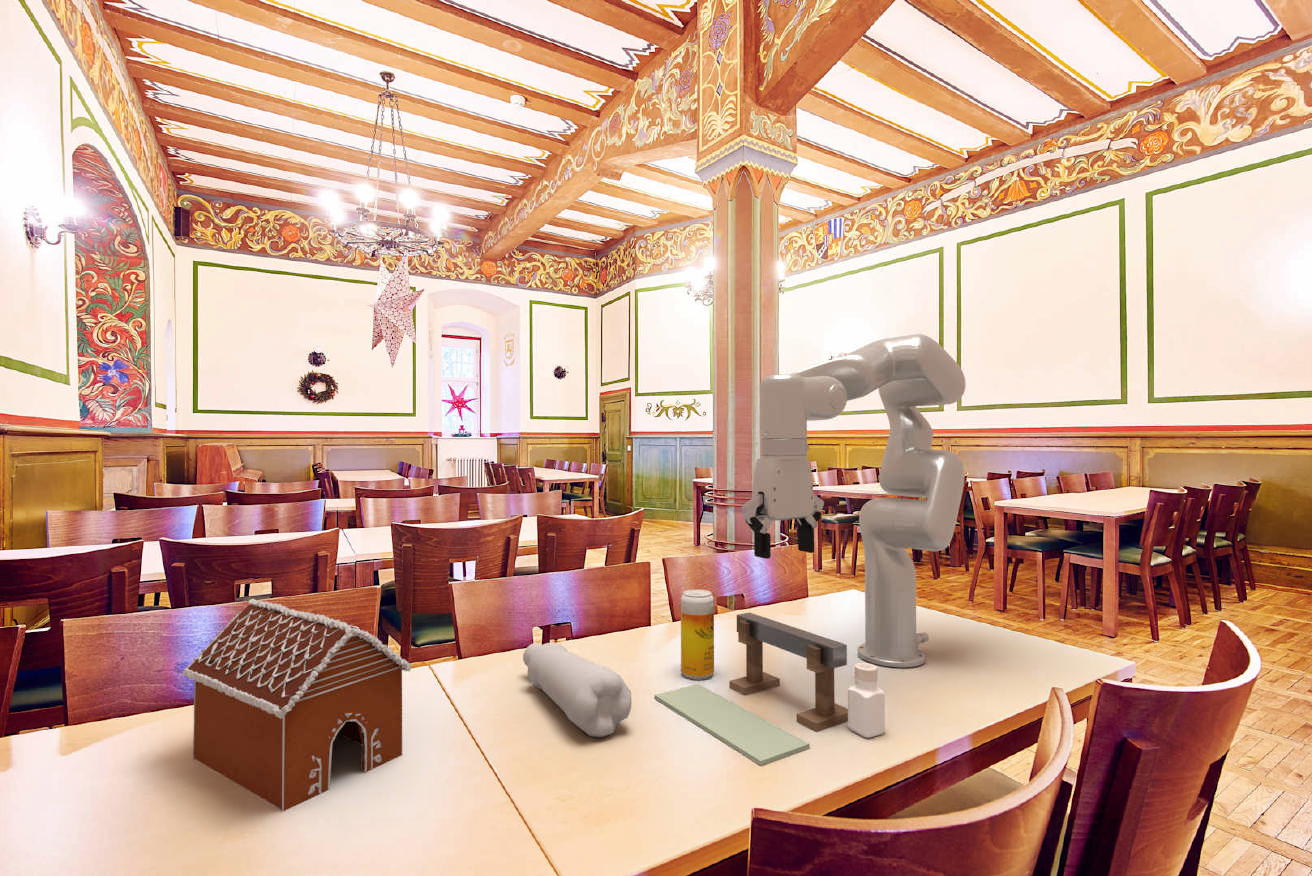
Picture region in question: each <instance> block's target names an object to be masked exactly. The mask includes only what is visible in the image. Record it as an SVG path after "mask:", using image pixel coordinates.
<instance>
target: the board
mask: <svg viewBox="0 0 1312 876" xmlns="http://www.w3.org/2000/svg"><path fill="white" fill-rule="evenodd" d="M654 699H655V701H658V702H659V703H660V704H663V705H664V706H665V707H667V708H668V709H670V710H672V711H674V712H675V713H677V714H678V715H680V716H681V717H683V718H684V719H686V720H687V721H689V722H691V723H693V724H694V725H696V726H697V727H699V728H700V729H702V730H704V731H705V732H706V733H708V734H710V735H711V736H713V737H715V738H716V739H718V740H719V741H721V742H722V743H724V744H726V745H727V746H729V747H730V748H732V749H733V750H736V751H737V752H738V753H740V754H742V755H743V756H745V757H746V758H748V759H750V760H751V761H752V762H754V763H755V764H757V765H758V766H765V765H767V764H770V763H772V762H775V761H777V760H781V759H783V758H786V757H789V756H791V755H794V754H797V753H800V752H803V751H805V750H806V751H807V750H808V749H811V744H810V742H808V741H806V740H804V739H802V738H800V737H798V736H796V735H794V734H792V733H791V732H789V731H788V730H785V729H783V728H782V727H780V726H778V725H776V724H774V723H772V722H770V721H769V720H766V719H765V718H763V717H761V716H759V715H757V714H755V713H753V712H751V711H750V710H748V709H747V708H746V709H745V708H744V707H742V706H740V705H738V704H736V703H734V702H733V701H731V700H729V699H727V698H725V697H723V696H722V695H720V694H717V693H716V692H714V691H712V690H710V689H708V688H706V687H705V686H703V685H701V684H699V683H696V684H693V685H689V686H684V687H680V688H676V689H672V690H668V691H664V692H661V693H657V694H654Z"/></svg>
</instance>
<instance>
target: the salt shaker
mask: <svg viewBox="0 0 1312 876" xmlns="http://www.w3.org/2000/svg"><path fill="white" fill-rule="evenodd" d="M885 696H886V694H885V692H884V691H883V690H882V689H881V688H880V687H878V667H877V665H876V664H874V663H870V662H858V663H855V664H854V684H852V685H851V686H850V687H848V688H847V709H848V721H847V727H848V729H849V730H850V731H852V732H854V733H856V734H858V735H859V736H861V737H863V738H870V739H871V738H872V737H877V736H879V735H883V734H884V733H885V731H886V701H885V700H886V697H885Z"/></svg>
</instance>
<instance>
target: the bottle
mask: <svg viewBox="0 0 1312 876" xmlns="http://www.w3.org/2000/svg"><path fill="white" fill-rule="evenodd" d="M522 661H523V663H524V665H525V666H526V667H527V676H528V679H529V681H530V683H531V684H532V685H533V686H535V687H536V688H537V689H541V690H542V691H543V692H544V693H545V694H546V695H547V696H548V697H549V698H550V699H551V700H552V701H553V702H554V703H555V704H556V705H557V706H558V707H559V708H560V709H561V710H562V711H563V712H564V713H565V716H566V717H567V719H569V720H570V721H571V722H572V723H573V724H574V725H576V727H578V728H580V730H582V731H583V732H585V734H586V735H587V736H590V737H594V738H599V739H600V738H603V737H608V736H610V735H612V734H613V733H614V732H615V730H616V727H617V724H618V723H620V722H622V721H624V720H626V719H627V718H629V715H630V712H631V710H632V691H631V689H630V688H629V687H628V686H627V684H626V683H625V681H624V679H623V678H622V677H621V675H620V674H619V673H617V672H616V671H614V670H612V669H611V668H608V667H607V666H604V665H601V664H597V663H595V662H592V661H591V660H588V659H586V658H584V657H583V656H580V655H578V654H576V653H574V652H571V651H568V649H567V648H566V647H565V646H564V645H563V644H561V643H558V642H552V641H551V642H547V643H544V644H542V643H539V642H534V643H531V644H530V645H528V646H527V647H526V648H525V650H524V651H523V655H522Z"/></svg>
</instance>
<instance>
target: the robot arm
mask: <svg viewBox="0 0 1312 876" xmlns="http://www.w3.org/2000/svg"><path fill="white" fill-rule="evenodd" d="M966 385H967V384H966V378H965V374H964V371H963V370H962V368H961V366H960V365H959V364H958V362H957V361H956V360H955V359H954V358H953V357H952V356H951V355H950V354H949V352H947V350H946V349H944V347H943V346H941V344H939V342H937V341H936V340H935V339H933V338H931V337H930V336H928V335H925V334H921V333H917V334H909V335H903V336H895V337H890V338H889V337H888V338H884V339H879V340H875V341H872V342H870V343H868V344H866V345H864V346H861V347H860V348H858V349H855V350H854V351H852V352H849V353H846V354H844V355H843V356H839V357H836V358H833V359H829V360H827V361H824V362H821V363H818V364H816V365H815V364H814V365H812V366H808V367H806V368H805V367H804V368H802V369H800V370H797V371H794V372H792V373H789V374H788V373H786V374H783V373H781V374H780V373H779V374H771V375H767V376H765V377H764V378H763V379H761V381H760V384H759V401H760V402H759V403H760V404H759V405H760V406H759V411H760V413H759V415H760V416H759V417H760V418H759V419H760V425H759V426H760V458H757V459H756V463H755V465H754V472H753V478H752V479H753V481H752V492H751V498H750V499H749V500H748V501H746V502H745V503H744V504H742V506H741V508H740V509H741V513H742V514H743V517H744V518H745V523H746V524H747V525H748V526H749V528H750V531H751V532H752V533H753V537H754V538H753V539H754V540H753V542H754V543H753V546H754V547H753V549H754V550H753V551H754V552H753V553H754V557H756V558H761V559H767V560H768V559H771V557H772V556H771V555H772V553H771V552H772V551H771V550H772V549H771V548H772V547H771V545H772V544H771V540H772V539H771V533H768V531H769V529H770V528H771V527H772V526H771V525H772V524H773V522H774V521H787V520H790V521H791V520H797V522H798V523H799V525H800V526H798V527H797V549H798V550H799V552H805V553H810V554H811V553H814V552H815V529H816V528H817V527H818V522H819V520H820V519H821V517H822V511H823V508H824V505H825V501H824V500H823V499H822V498H820V497H818V496H817V495H816V494H814V483H813V475H812V469H811V462H810V459H809V458H808V450H809V449H810V445H809V444H808V429H807V428H808V421H809V422H811V421H812V422H813V421H827V420H831V419H834V418H836V417H838V416H839V415H841V414H842V412H844V410H845V408H846V405H847V402H848V401H854V400H857V399H861V398H863V397H865V396H868V395H869V394H871V393H872V392H874V391H876V390H878V394H879V398H880V400H881V403H882V405H883V407H884V410H885V413H886V416H887V419H888V422H889V423H888V424H889V435H888V439H887V442H886V446H885V450H884V454H883V458H882V460H881V465H880V466H881V467H880V470H879V474H878V480H879V486H880V487H881V489H882V490H883V491H884V492H886V493H887V494H889V495H894V496H900V497H912V498H926V499H923V500H922V499H910V498H900V497H899V498H898V497H877V498H872V499H870V500H868V501H867V502H865V504H863V506H862V507H861V509H860V511H859V517H858V523H859V531H860V535H861V539H862V544H863V556H864V616H865V617H864V618H865V619H864V623H865V629H864V630H865V632H864V633H865V636H864V637H865V640H864V641H865V643H861V644H860V645H859V646H857V653H856V654H857V655H858V657H859V658H861V659H862V660H864V661H865V662H867V663H870V664H873V665H879V666H883V667H884V666H885V667H891V668H914V667H918V666H921V665H923V664H924V663H925V662H926V655H925V653H924V652H923V651H922V650H920V649H919V645H920V644H923V643H927V642H928V641H929V640H930V638H929V634H928V633H927V632H924V631H923V632H922V631H921V632H919V633H918V632H917V573H916V572H917V571H916V566H915V563H914V561H913V559H912V558H911V556H910V554H909V553H908V551H907V549H911V550H912V549H913V550H918V551H919V550H920V551H927V552H939V551H943V550H946V549H947V548H948V546H949V545H950V544H951V541H952V539H953V537H954V532H955V529H956V524H957V519H958V516H959V515H958V514H959V510H960V505H961V501H962V496H963V492H964V485H965V468H964V464H963V462H962V460H961V458H960V457H959V456H958V455H957V453H954V452H952V451H949V450H945V449H932V443H933V439H934V431H933V428H932V426H931V424H930V422H929V421H928V420H927V418H925V417H924V415H923V414H922V413H921V412H920V410H919V409H918V408H917V407H927V406H928V407H929V406H945V405H946V406H947V405H951V404H954V403H956V402H958V401H959V400H961V398H962V397H963V396H964V393H965V392H966Z"/></svg>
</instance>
